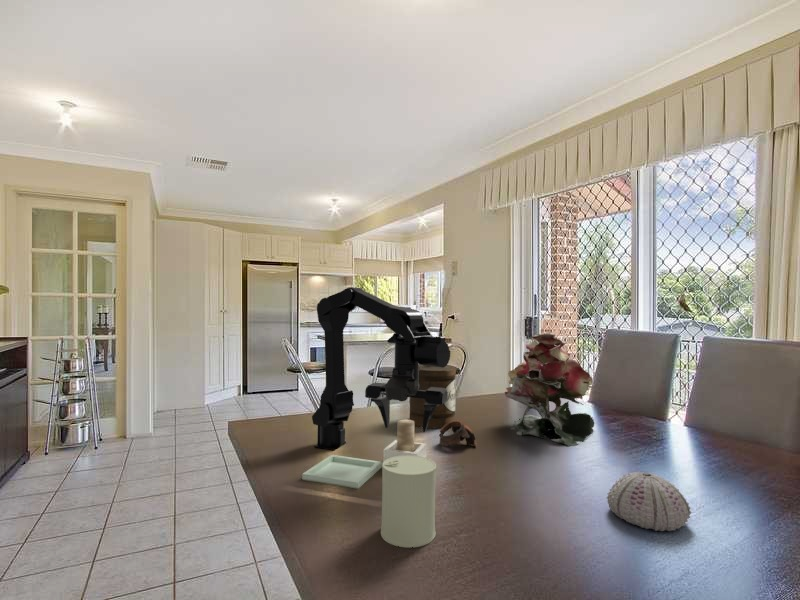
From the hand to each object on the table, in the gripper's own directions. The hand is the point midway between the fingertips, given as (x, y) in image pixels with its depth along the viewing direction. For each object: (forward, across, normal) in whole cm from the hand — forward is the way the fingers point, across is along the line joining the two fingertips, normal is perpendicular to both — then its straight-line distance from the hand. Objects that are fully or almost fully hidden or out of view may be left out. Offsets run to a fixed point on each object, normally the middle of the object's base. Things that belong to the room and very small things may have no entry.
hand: (405, 429), depth 105 cm
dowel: (+8, 0, 0) cm, 8 cm away
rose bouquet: (+9, +30, +48) cm, 57 cm away
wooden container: (+9, -5, +42) cm, 43 cm away
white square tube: (+9, 0, 0) cm, 9 cm away
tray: (+9, -11, -10) cm, 17 cm away
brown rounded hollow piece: (+9, +9, +20) cm, 24 cm away
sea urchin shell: (+9, +49, -7) cm, 50 cm away
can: (+9, +10, -28) cm, 31 cm away
